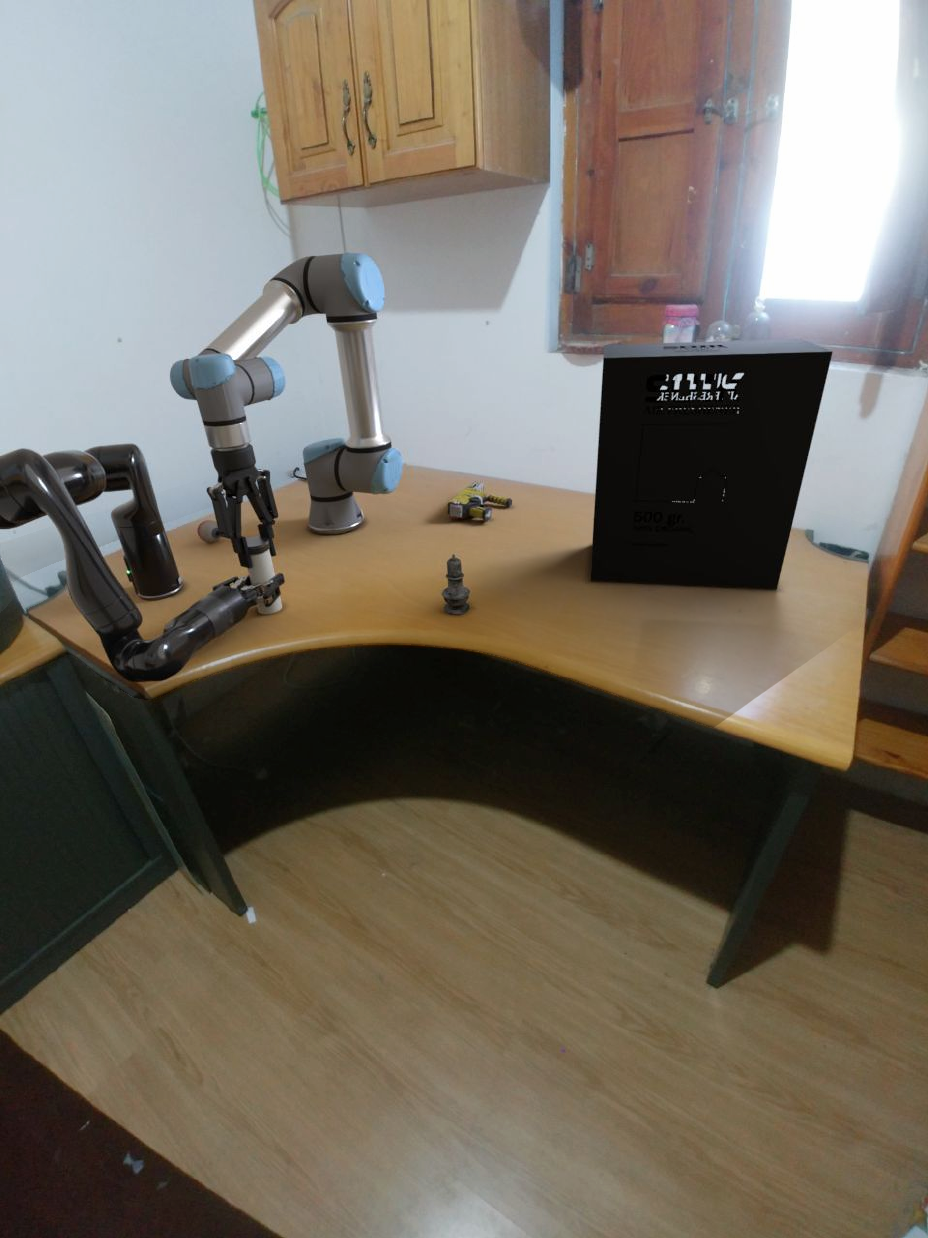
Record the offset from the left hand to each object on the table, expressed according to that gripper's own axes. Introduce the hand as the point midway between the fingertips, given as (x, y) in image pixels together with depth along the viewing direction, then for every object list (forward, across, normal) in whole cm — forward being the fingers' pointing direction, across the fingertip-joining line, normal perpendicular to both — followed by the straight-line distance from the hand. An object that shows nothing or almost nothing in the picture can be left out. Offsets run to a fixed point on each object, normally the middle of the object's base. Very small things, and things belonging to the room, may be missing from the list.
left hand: (271, 575), depth 127 cm
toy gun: (+66, -24, +7) cm, 71 cm away
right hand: (-3, 0, -5) cm, 5 cm away
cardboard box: (+41, -79, +7) cm, 89 cm away
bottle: (-3, 0, +7) cm, 7 cm away
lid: (-3, 0, -8) cm, 9 cm away
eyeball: (+24, +39, +7) cm, 46 cm away
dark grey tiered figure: (+8, -38, +7) cm, 40 cm away
